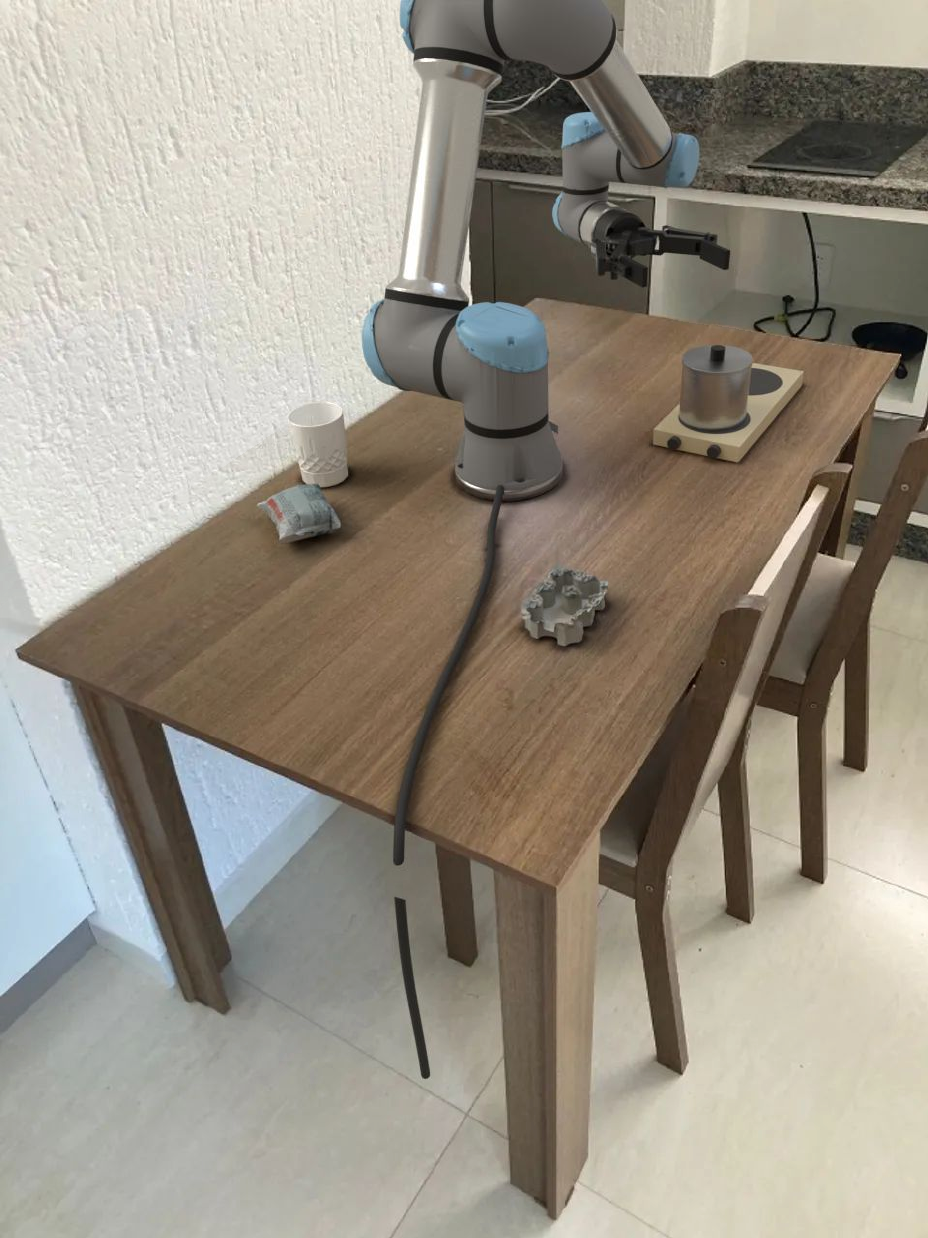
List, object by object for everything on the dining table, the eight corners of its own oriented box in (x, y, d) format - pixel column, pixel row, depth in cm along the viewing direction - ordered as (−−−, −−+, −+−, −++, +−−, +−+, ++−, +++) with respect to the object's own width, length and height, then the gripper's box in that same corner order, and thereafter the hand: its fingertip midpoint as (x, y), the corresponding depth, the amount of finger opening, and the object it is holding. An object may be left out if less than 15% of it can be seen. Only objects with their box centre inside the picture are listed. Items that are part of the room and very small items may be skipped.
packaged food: (281, 557, 131) (275, 525, 128) (259, 516, 140) (252, 485, 137) (345, 540, 134) (340, 508, 131) (319, 500, 143) (314, 469, 140)
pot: (728, 437, 144) (735, 366, 138) (666, 422, 149) (670, 353, 143) (757, 410, 150) (765, 341, 144) (697, 396, 155) (702, 329, 149)
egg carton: (573, 652, 112) (573, 623, 110) (514, 633, 116) (513, 605, 113) (614, 601, 119) (615, 572, 117) (557, 584, 122) (557, 556, 120)
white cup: (363, 470, 149) (354, 407, 143) (330, 494, 144) (319, 430, 138) (321, 459, 153) (311, 397, 147) (287, 482, 147) (275, 419, 141)
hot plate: (735, 465, 142) (737, 449, 141) (649, 447, 148) (650, 431, 147) (801, 385, 161) (803, 370, 160) (723, 372, 167) (724, 357, 166)
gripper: (680, 243, 167) (757, 278, 151) (543, 270, 160) (609, 311, 144) (683, 195, 162) (763, 226, 146) (542, 221, 155) (610, 257, 139)
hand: (686, 268), depth 145 cm, fingers open, 13 cm apart
